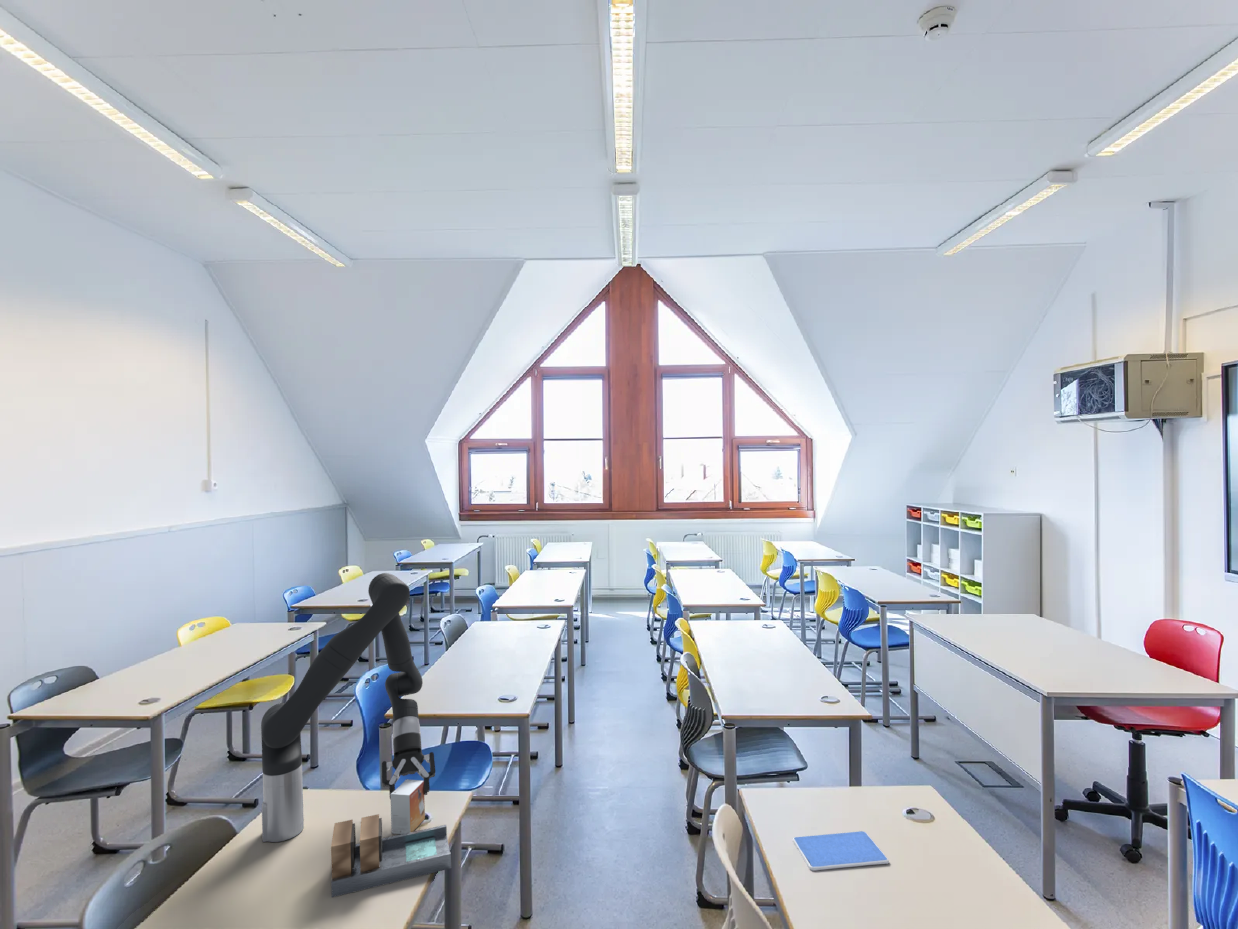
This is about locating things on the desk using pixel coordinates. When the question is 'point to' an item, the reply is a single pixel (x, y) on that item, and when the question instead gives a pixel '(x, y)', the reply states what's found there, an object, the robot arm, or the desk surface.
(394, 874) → the grey shallow tray
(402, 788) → the small box
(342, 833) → the twin brown uprights
